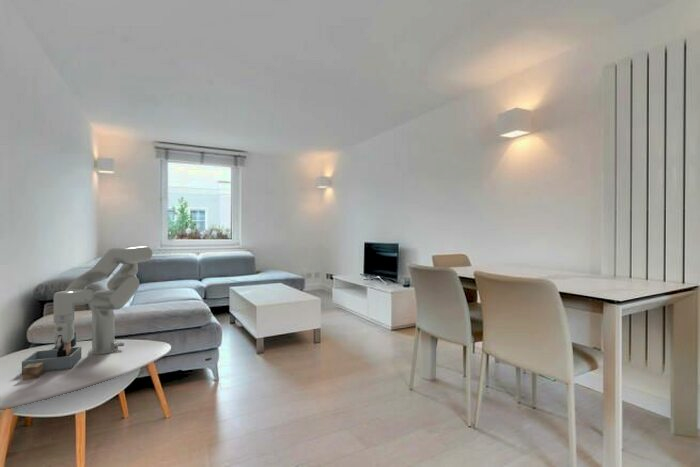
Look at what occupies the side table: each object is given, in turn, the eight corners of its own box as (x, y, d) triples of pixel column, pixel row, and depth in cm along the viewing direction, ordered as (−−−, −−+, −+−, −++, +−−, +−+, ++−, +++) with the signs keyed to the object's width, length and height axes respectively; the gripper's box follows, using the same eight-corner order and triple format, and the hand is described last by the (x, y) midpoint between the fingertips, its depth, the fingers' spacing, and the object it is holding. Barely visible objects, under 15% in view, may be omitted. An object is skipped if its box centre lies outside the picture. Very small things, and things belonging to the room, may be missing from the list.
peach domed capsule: (72, 356, 167) (72, 341, 167) (68, 359, 162) (68, 344, 162) (59, 357, 165) (59, 342, 165) (54, 361, 160) (55, 345, 160)
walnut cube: (43, 374, 153) (43, 362, 153) (38, 378, 148) (38, 366, 148) (28, 375, 151) (28, 364, 151) (23, 380, 146) (23, 368, 146)
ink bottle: (51, 347, 188) (51, 324, 188) (70, 342, 196) (70, 321, 196) (60, 349, 184) (60, 327, 183) (79, 345, 191) (79, 323, 191)
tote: (81, 358, 172) (81, 346, 172) (71, 368, 159) (71, 356, 159) (36, 362, 165) (36, 351, 165) (21, 374, 152) (21, 361, 152)
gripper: (67, 321, 157) (67, 362, 157) (79, 313, 173) (79, 350, 173) (46, 323, 154) (46, 364, 154) (61, 314, 170) (61, 352, 170)
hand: (64, 356), depth 163 cm, fingers closed on peach domed capsule, 5 cm apart
